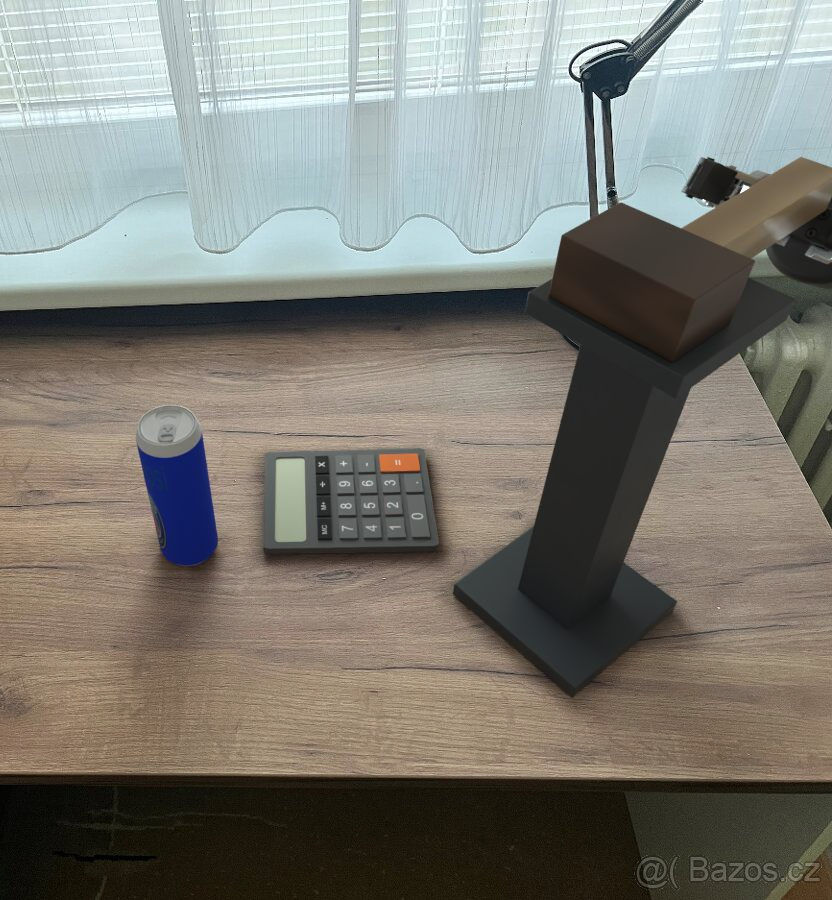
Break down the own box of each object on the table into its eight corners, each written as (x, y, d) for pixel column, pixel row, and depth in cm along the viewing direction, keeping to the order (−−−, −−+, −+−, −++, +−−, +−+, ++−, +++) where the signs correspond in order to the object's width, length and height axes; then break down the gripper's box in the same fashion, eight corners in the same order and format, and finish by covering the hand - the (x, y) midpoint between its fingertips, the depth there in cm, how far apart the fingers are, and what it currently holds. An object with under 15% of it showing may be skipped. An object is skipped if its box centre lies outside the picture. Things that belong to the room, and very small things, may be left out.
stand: (672, 612, 69) (824, 299, 48) (571, 698, 65) (689, 396, 43) (550, 522, 76) (635, 215, 55) (452, 594, 72) (502, 291, 51)
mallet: (871, 227, 52) (902, 164, 49) (672, 363, 45) (695, 299, 42) (745, 179, 57) (766, 120, 54) (548, 296, 50) (560, 234, 47)
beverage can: (163, 525, 80) (137, 403, 69) (219, 523, 79) (202, 400, 68) (158, 570, 76) (130, 449, 65) (217, 569, 75) (198, 447, 65)
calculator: (439, 544, 74) (262, 547, 75) (438, 551, 75) (263, 553, 76) (424, 446, 82) (265, 450, 84) (423, 453, 83) (265, 457, 84)
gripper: (778, 150, 65) (693, 101, 54) (991, 224, 56) (942, 184, 45) (720, 245, 68) (629, 218, 57) (913, 329, 59) (849, 316, 48)
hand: (767, 203), depth 51 cm, fingers open, 8 cm apart
